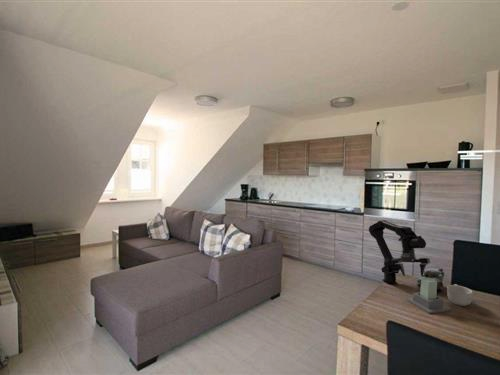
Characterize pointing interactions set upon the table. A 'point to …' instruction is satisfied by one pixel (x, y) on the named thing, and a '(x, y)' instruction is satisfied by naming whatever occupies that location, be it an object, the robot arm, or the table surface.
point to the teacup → (459, 295)
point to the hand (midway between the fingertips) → (412, 276)
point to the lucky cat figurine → (433, 277)
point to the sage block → (428, 288)
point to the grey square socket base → (428, 304)
